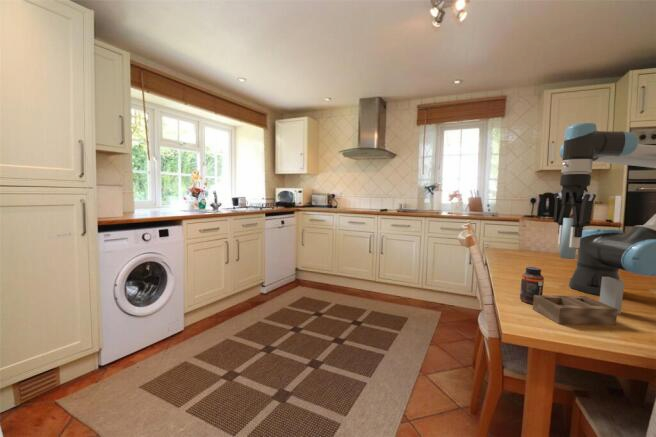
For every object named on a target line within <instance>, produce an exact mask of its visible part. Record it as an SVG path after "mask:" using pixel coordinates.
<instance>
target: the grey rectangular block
mask: <svg viewBox="0 0 656 437" xmlns="http://www.w3.org/2000/svg"><path fill="white" fill-rule="evenodd" d="M624 288H625V281H624V280H621V279H620V280H617V279H614V278H611V277H602V282H601V291H600V295H599V298H598V299H599V300H598V301H599V302H601V303H604V304H607V305H609V306H612V307H614V308H617V309H618V311H617V315H621V313H622V304H623V298H624Z"/></svg>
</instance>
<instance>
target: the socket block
mask: <svg viewBox="0 0 656 437" xmlns="http://www.w3.org/2000/svg"><path fill="white" fill-rule="evenodd" d="M532 310H533V311H534V312H537V313H538V314H540V315H542V316H544V317H546V318H547V319H549V320H551V321H553V322H554V323H556V324H558V325H593V326H594V325H599V326H601V325H604V326H616V325H617V317H618V314H617V311H618V309H617V308H614V307H612V306H609V305H607V304H604V303H601V302H599V300H596V299H593V298H591V297H589V296H587V295H555V294H554V295H550V294H548V295H546V294H545V295H544V294H542V295H534V299H533V304H532Z"/></svg>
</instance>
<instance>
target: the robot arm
mask: <svg viewBox="0 0 656 437" xmlns="http://www.w3.org/2000/svg"><path fill="white" fill-rule="evenodd" d="M563 138H564V139H563V143H562V145H561V146H560V148H559V157H561V159H562V161H561V162H562V164H561V170H560V171H561V172H560V173H562V174H561V175H560V180H559V185H560V186H561V187H562V188H561V191H560V192H558V193H553V198H554V210H553V222H554V223H557V225H558V230H557V233H558V239H557V245H560V246H561V236H562V227H563V218H570V216H571V212H572V218H573V221H574V225H572V227H571V234H570V244H569V247H575V248H576V249H578V250H577V259H576V260H577V261H576V268H575V269H574V272H573V273H572V275H571V277H570V278H569V281H568V286H569V287H570V288H571V289H573V290H576V291H579V292H582V293H587V294H590V295H596V296H600V291H601V282H602V277H611V278H614V279H617V280H621V277H620V274H619V270H621V271H622V270H623V271H626V272H629V273H631V274H635V275H642V276H645V277H646V276H647V277H655V276H656V213H655V214H653V215H652V216H651V217H650V218H649V219H648V220H647V221H646V222H645V223H644V224H643V225H641V224H640V225H634V226H633V227H631V229H630V230H629V231H628V232H626V233H624V230H622V229H612V228H611V229H610V228H609V229H607V228H603V229H602V228H601V229H600V228H597V229H595V228H585V227H589V226H590V225H591V221H592V220H591V219H592V213H593V207H594V206H593V205H594V201H595V199H596V196H597V195H596V194H595V193H590V192H588V191H589V190H588V187H590V185H591V181H592V175H591V174H590V173H592V172H593V163H594V162H595V163H605V164H613V165H615V164H616V165H623V166H625V165H626V166H632V167H633V166H635V167H643V168H644V167H645V168H653V169H656V145H652V144H641V143H639V137H638V135H637V134H636V133H634V132H632V131H623V130H621V131H614V130H613V131H611V130H610V131H606V130H602V131H601V130H597V124H596V123H593V122H580V123H574V124H570V125H569V126H567V127H566V129H565V132H564V137H563Z"/></svg>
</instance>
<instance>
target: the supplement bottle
mask: <svg viewBox="0 0 656 437" xmlns="http://www.w3.org/2000/svg"><path fill="white" fill-rule="evenodd" d="M541 273H542V269H541V268H539V267H536V266H526V267H525V271H524V272H523V273H522V275H521V284H520V294H519V299H520V301H522V302H523V303H526V304H530V305H533V299H534V295H544V294H543V291H544V282H545V280H544V278H545V277H544V276H543V275H542V274H541Z"/></svg>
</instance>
